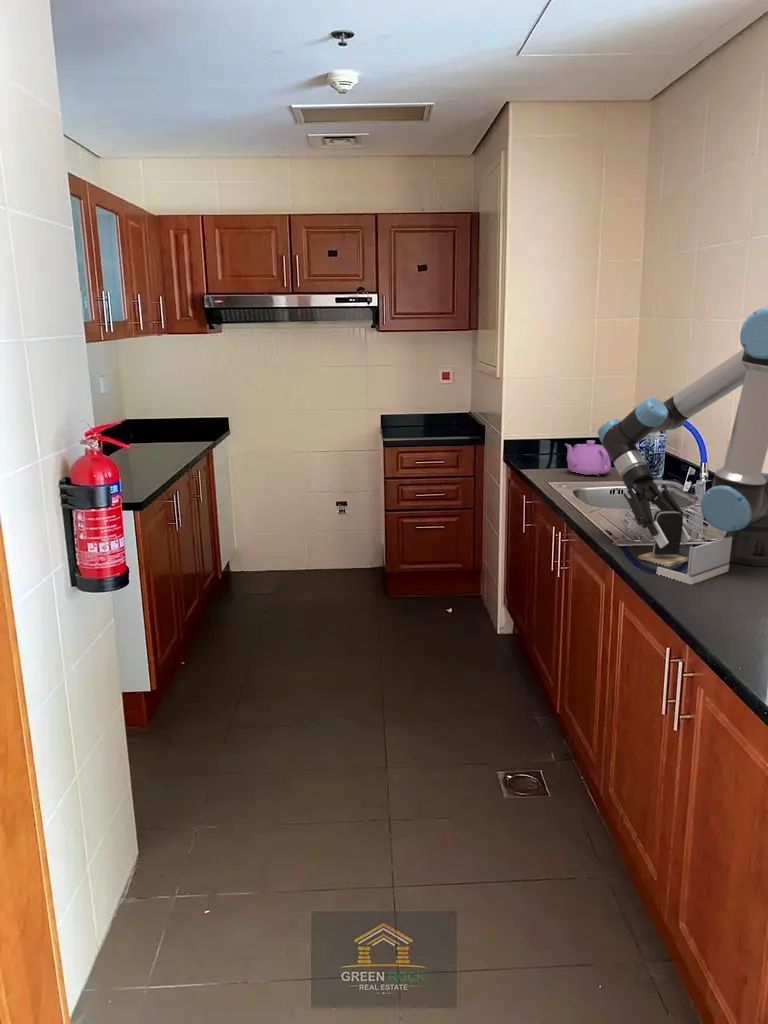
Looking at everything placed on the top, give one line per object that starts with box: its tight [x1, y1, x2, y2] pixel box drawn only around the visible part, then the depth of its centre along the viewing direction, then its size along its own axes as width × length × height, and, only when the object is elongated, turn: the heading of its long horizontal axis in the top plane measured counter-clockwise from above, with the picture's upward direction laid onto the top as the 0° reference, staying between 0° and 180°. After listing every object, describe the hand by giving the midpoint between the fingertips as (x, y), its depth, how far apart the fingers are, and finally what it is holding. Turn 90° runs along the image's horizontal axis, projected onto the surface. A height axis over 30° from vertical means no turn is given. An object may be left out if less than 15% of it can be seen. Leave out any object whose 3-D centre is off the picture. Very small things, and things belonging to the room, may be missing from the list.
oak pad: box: [638, 551, 689, 568], centre depth 203 cm, size 9×9×1 cm
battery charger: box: [651, 510, 684, 555], centre depth 201 cm, size 7×4×11 cm, turn 93°
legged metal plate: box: [655, 536, 732, 586], centre depth 191 cm, size 17×9×9 cm, turn 128°
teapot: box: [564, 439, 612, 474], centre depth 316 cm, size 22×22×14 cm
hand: (675, 543), depth 199 cm, fingers closed on battery charger, 7 cm apart
